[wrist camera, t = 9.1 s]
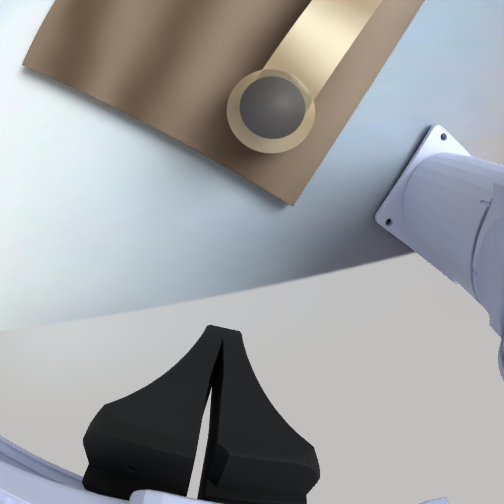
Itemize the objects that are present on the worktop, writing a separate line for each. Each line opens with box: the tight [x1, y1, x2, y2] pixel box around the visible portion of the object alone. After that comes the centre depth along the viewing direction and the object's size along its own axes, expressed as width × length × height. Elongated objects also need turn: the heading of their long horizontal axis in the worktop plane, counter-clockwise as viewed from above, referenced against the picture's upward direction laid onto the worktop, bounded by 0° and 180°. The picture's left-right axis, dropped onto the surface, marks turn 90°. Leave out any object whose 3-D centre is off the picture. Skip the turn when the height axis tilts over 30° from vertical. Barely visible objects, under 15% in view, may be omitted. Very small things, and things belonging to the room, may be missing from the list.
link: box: [227, 0, 382, 153], centre depth 13 cm, size 18×4×4 cm, turn 149°
